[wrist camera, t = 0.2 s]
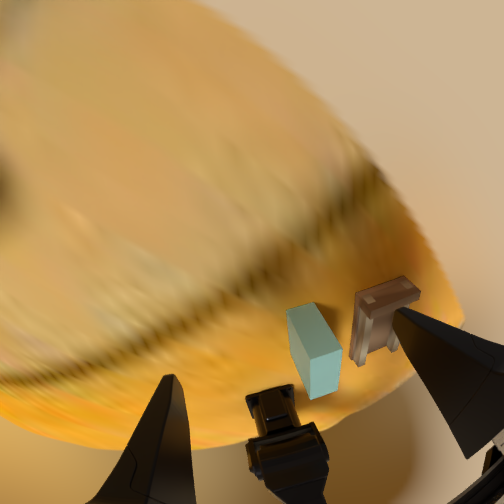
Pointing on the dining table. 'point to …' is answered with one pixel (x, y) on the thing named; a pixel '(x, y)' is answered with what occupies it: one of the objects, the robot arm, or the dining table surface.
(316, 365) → the pale teal rectangular prism
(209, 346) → the dining table surface
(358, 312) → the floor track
